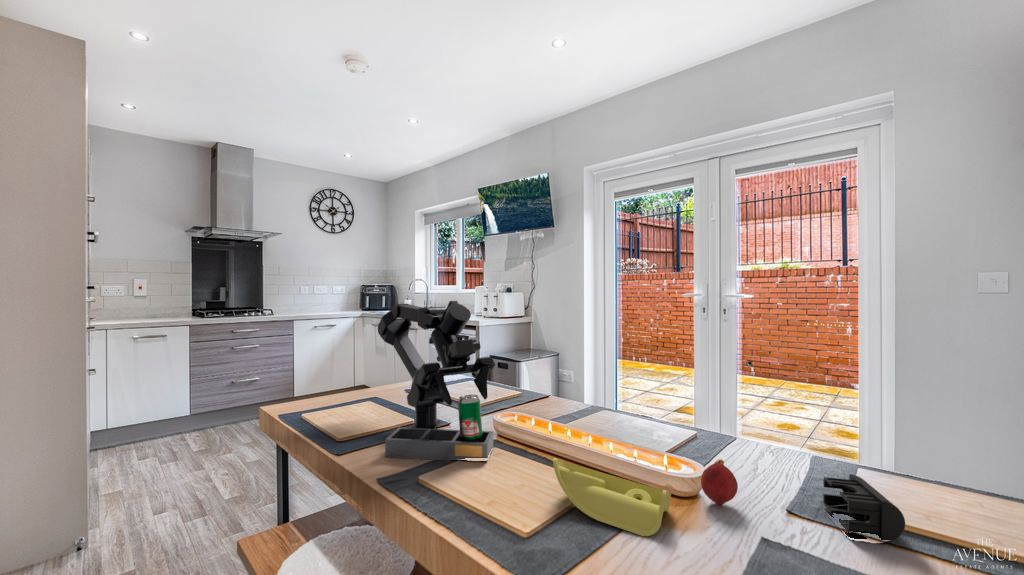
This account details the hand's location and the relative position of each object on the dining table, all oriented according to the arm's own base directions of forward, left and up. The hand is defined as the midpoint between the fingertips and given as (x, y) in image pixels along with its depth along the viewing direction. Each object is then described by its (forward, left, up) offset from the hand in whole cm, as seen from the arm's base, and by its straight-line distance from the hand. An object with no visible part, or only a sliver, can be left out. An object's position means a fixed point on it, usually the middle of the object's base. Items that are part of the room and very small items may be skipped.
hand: (468, 401), depth 103 cm
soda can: (+1, +1, -11) cm, 11 cm away
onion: (+19, +49, -12) cm, 54 cm away
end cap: (+24, +69, -12) cm, 74 cm away
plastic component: (+22, +30, -12) cm, 39 cm away
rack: (+1, -6, -12) cm, 13 cm away
